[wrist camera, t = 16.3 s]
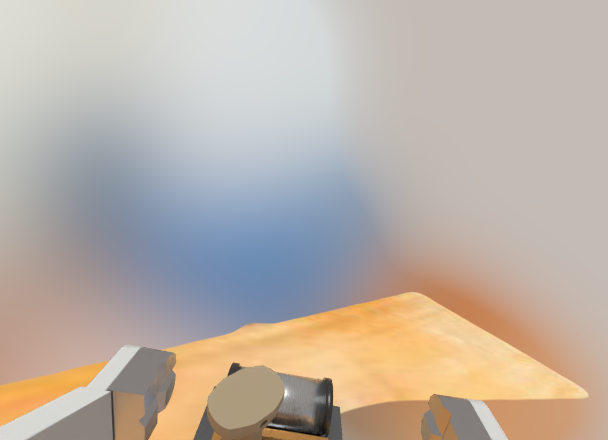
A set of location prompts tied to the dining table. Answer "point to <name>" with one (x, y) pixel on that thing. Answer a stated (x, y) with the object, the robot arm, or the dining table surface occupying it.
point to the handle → (245, 403)
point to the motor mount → (294, 412)
